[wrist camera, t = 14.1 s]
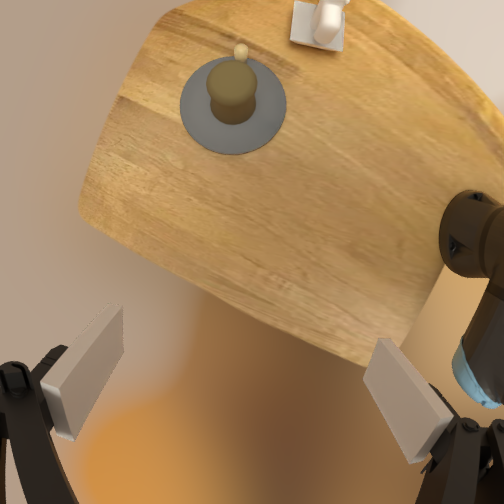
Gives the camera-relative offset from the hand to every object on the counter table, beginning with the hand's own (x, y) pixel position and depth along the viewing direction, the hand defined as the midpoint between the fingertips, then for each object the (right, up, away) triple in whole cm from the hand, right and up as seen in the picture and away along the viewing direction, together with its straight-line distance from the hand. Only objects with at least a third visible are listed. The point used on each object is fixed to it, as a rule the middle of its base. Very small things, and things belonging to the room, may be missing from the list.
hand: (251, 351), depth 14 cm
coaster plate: (-3, +24, +23) cm, 34 cm away
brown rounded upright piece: (-2, +24, +22) cm, 33 cm away
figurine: (+9, +36, +21) cm, 43 cm away
